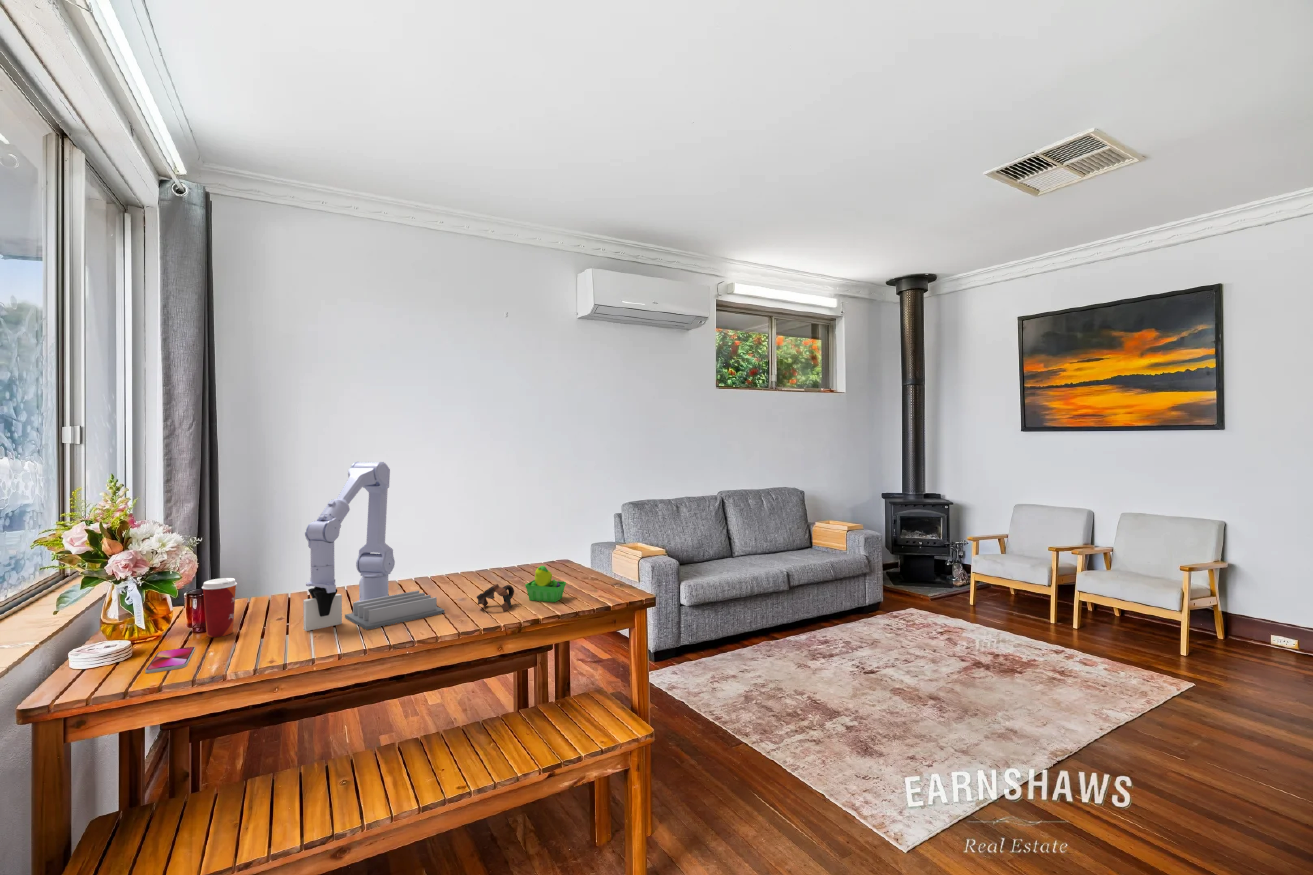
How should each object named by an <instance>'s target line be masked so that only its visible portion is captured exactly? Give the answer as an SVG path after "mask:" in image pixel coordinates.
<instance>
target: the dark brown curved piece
mask: <svg viewBox="0 0 1313 875" xmlns="http://www.w3.org/2000/svg"><path fill="white" fill-rule="evenodd" d="M495 593H497V595H498V596H499V597H502V598H503V603H502V604H501V605H500V607H501V608H502V611H503V612H507V611H508V610H510V609H511V608H512V607H513V605H512V602H511V600H512V598H513V597H514V594H515V589H514V587H513V586H512V585H510V584H505V585H504V586H500V585H499V584H498V583H495V584H493V585H492V586H490V587H489V588H487V589H485V590H484V591H483V592H482V593H480V594H478V595H477V596H476V599H477V606H478V605H479V606H480V605H482V606H483V607H484V606H486V607H487V606H488V604H489V602H488V600H487V599H490V600H494V599H495Z"/></svg>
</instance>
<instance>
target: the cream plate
mask: <svg viewBox="0 0 1313 875" xmlns="http://www.w3.org/2000/svg"><path fill="white" fill-rule="evenodd" d="M342 597H343V596H342V594H340V593H336V595H335V597H334V599H333V602H332V605H331V609H330V613H329V615H327V616H322V617H321V616H320V614H319V609H318V603H317V600H316V598H312V597H311V598H306V599H303V602H302V604H303V630H304V631H305V632H309V631H313V630H318V629H323V628H329V627H333V626H338V625H342V624H343V600H342V599H343V598H342Z"/></svg>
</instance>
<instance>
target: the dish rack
mask: <svg viewBox="0 0 1313 875" xmlns="http://www.w3.org/2000/svg"><path fill="white" fill-rule="evenodd" d="M357 601H358V602H356V601H353V602H352V612H351V613H347V614H344V618H345V619H346V620H347V621H350V622H351V623H353V624H355V625H357V626H358V625H359V626H358V627H360V628H362V629H363V630H365V629H366V630H365V631H368V629H370V630H375V629H379V628H382V627H381V626H383V627H386V626H385V625H388V626H392V625H391V624H393V625H396V624H395V623H397V624H401V623H400V622H402V623H405V622H404V621H406V622H411V621H414V620H415V621H416V620H419V619H423V618H428V616H429V617H434V616H437V615H442V613H443V614H445V610H446V609H443V608H441V607H439V606H438V605H437V596H434V597H432V595H431V594H426V593H425V592H420V590H413V591H408V592H402V593H401V592H400V593H396V594H391V595H388V596H385V597H380V598H374V599H369V600H364V601H359V600H357Z"/></svg>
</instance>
